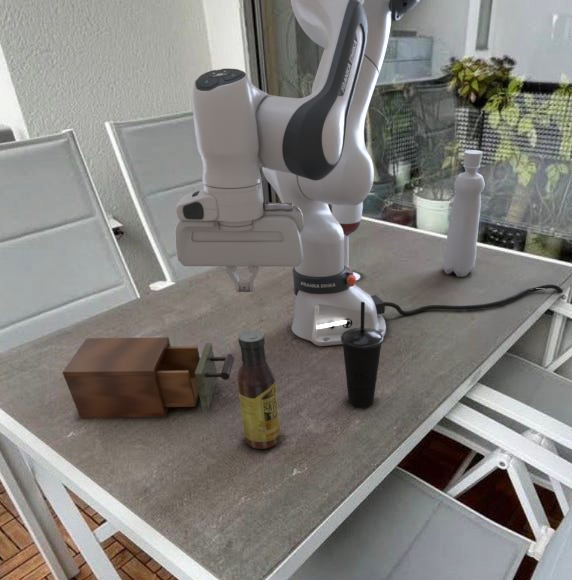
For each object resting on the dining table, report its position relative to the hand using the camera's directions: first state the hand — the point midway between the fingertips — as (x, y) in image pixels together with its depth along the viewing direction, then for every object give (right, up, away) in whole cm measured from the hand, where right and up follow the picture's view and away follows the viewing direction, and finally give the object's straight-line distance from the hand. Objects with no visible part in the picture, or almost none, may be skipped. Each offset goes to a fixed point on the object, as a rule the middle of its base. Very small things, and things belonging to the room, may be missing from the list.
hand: (245, 290), depth 93 cm
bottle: (+49, +29, +64) cm, 86 cm away
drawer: (-14, -15, +13) cm, 25 cm away
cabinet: (-25, -16, +14) cm, 33 cm away
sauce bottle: (+2, -25, +4) cm, 26 cm away
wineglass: (+17, +26, +61) cm, 68 cm away
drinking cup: (+20, -17, +14) cm, 30 cm away
